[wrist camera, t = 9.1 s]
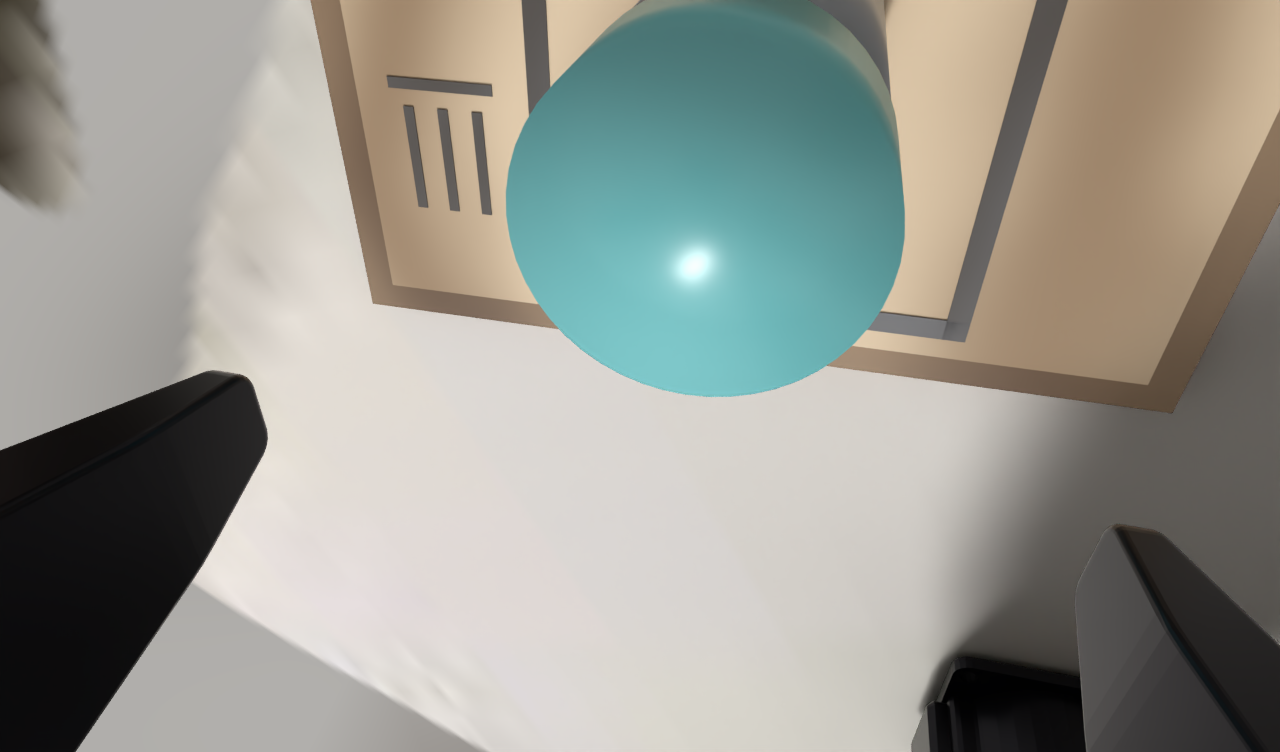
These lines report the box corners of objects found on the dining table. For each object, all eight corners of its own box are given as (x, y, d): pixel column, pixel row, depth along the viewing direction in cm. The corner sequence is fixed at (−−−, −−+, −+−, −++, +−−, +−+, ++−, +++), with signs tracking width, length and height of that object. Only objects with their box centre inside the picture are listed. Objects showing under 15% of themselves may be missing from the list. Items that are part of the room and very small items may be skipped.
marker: (908, -99, 14) (951, 46, 7) (864, 137, 16) (863, 421, 9) (670, -111, 15) (488, 10, 8) (662, 118, 17) (519, 370, 10)
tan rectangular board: (1685, -665, 10) (1820, -738, 9) (1162, 392, 20) (1185, 441, 18) (220, -579, 13) (142, -622, 12) (386, 288, 23) (354, 322, 21)
